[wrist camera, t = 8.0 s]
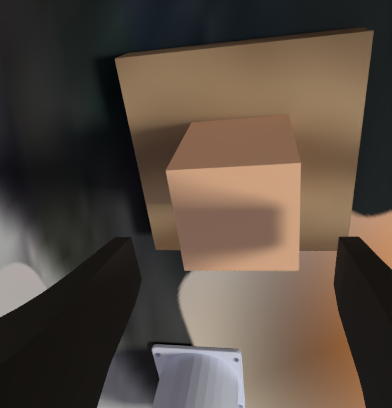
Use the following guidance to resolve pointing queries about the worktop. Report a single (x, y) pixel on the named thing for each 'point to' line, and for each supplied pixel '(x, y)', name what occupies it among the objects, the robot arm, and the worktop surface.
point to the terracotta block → (237, 195)
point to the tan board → (255, 115)
